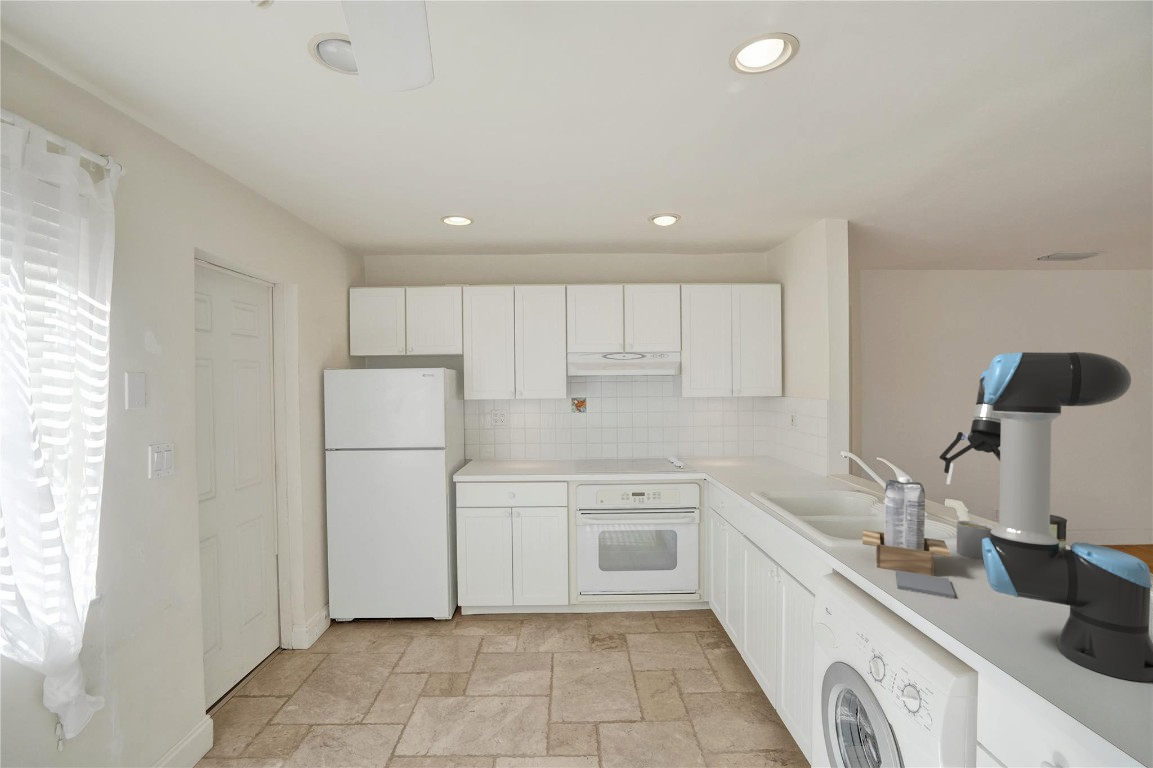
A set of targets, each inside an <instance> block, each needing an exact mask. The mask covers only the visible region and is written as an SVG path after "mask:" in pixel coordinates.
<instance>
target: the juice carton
mask: <svg viewBox="0 0 1153 768" xmlns="http://www.w3.org/2000/svg"><path fill="white" fill-rule="evenodd" d="M910 480H911V478H910V477H903V476H902V477H901V476H900V477H898V480H894V479H888V480H887V481H886V483H885V489H884V490H885V491H884V492H885V493H884V494H885V495H884V532H883V533H884V545H887V546H894V547H901V548H908V549H915V550H922V551H924V538H925V521H926V519H925V518H926V517H925V516H926V509H925V507H926V500H925V498H926V495H925V489H924V486H923V484H922V483H921V482H915V481H910Z"/></svg>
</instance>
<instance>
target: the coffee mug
mask: <svg viewBox="0 0 1153 768" xmlns="http://www.w3.org/2000/svg"><path fill="white" fill-rule="evenodd" d="M995 527H996V526H994V525H991V524H988V523H986V522H981V521H975V520H958V521H957V522H956V549H955V550H956V553H957V554H959V555H960V556H962V557H965V558H969V559H973V558H974V559H975V560H980V559H981V560H982V561H984V559H983V552H982V539H984V538H989V539H990V537H991V530H992V529H993V528H995ZM981 560H980V561H981Z"/></svg>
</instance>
